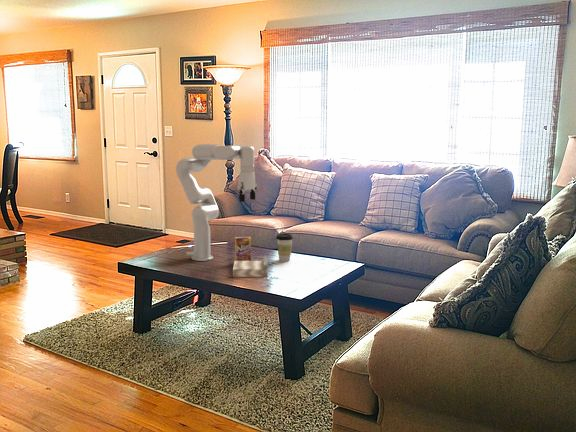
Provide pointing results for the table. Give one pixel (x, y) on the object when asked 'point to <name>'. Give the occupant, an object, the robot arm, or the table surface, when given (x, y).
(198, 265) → the table surface
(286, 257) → the coffee cup
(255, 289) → the table surface
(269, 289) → the table surface
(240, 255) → the candy box
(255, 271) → the low shelf
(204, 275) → the table surface
